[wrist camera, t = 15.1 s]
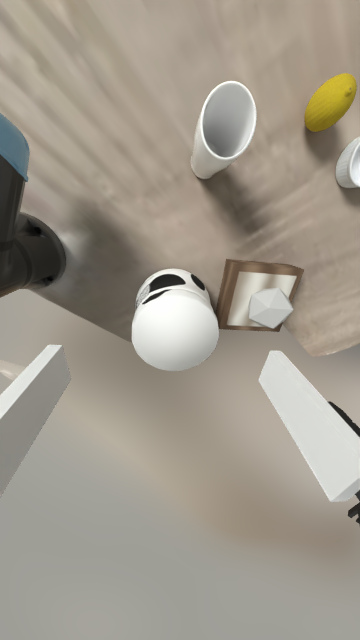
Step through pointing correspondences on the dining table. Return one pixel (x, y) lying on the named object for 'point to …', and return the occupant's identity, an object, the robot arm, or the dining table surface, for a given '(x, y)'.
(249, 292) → the plinth
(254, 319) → the die
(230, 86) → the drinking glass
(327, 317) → the dining table surface
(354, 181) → the ramekin
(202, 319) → the milk container
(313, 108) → the lemon
